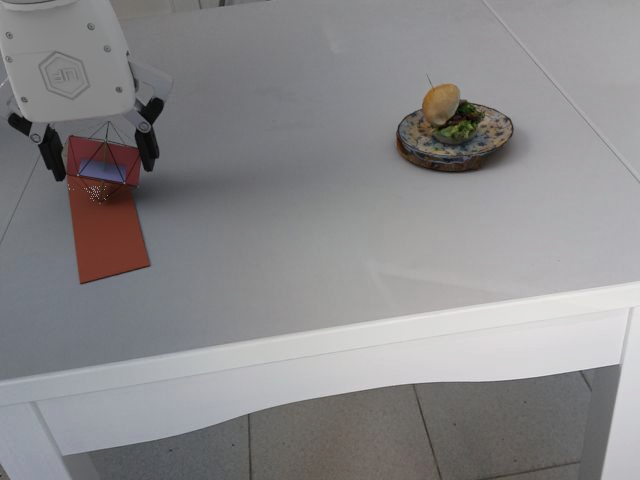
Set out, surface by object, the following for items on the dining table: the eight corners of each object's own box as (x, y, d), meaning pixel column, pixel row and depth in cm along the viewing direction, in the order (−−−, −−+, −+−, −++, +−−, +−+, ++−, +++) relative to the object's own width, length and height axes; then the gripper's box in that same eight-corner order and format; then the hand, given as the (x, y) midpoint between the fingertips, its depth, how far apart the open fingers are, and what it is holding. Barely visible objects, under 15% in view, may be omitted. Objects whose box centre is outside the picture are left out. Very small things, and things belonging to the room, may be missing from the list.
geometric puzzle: (162, 147, 74) (95, 93, 69) (161, 180, 69) (88, 125, 64) (118, 193, 76) (50, 144, 72) (113, 228, 71) (40, 178, 67)
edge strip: (80, 284, 62) (79, 283, 62) (66, 176, 76) (66, 175, 76) (149, 265, 63) (149, 264, 63) (123, 163, 77) (123, 162, 77)
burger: (499, 179, 69) (505, 103, 64) (381, 166, 72) (377, 93, 67) (522, 121, 77) (529, 50, 72) (415, 112, 80) (414, 44, 75)
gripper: (-81, 3, 56) (8, 199, 68) (143, -21, 56) (192, 180, 68) (-50, -26, 62) (28, 160, 74) (154, -48, 62) (198, 142, 74)
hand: (107, 169), depth 71 cm, fingers closed on geometric puzzle, 8 cm apart
